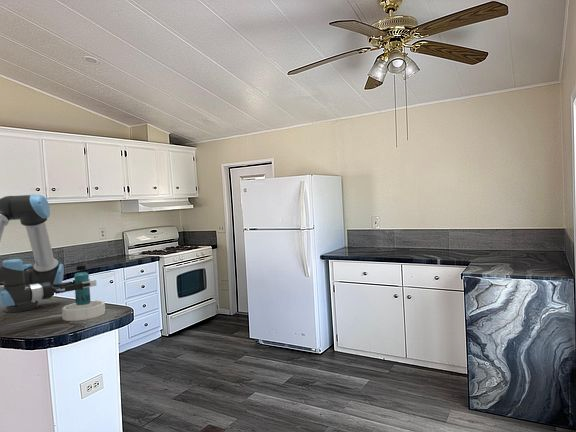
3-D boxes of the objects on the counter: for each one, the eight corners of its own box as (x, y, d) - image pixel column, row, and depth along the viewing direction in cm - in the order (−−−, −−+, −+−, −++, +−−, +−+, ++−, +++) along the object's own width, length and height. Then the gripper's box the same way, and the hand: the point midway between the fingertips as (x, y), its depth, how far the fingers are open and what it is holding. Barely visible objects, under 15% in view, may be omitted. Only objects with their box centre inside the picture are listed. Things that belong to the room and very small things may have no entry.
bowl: (57, 317, 198) (56, 307, 198) (95, 308, 211) (94, 299, 211) (72, 323, 186) (71, 312, 186) (111, 313, 199) (110, 303, 199)
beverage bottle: (76, 306, 200) (73, 265, 200) (91, 304, 203) (88, 264, 202) (75, 309, 194) (71, 267, 194) (90, 307, 196) (87, 265, 196)
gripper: (33, 297, 191) (85, 288, 208) (48, 302, 178) (102, 291, 196) (32, 281, 191) (84, 273, 208) (47, 285, 178) (101, 276, 195)
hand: (92, 282), depth 202 cm, fingers closed on beverage bottle, 6 cm apart
